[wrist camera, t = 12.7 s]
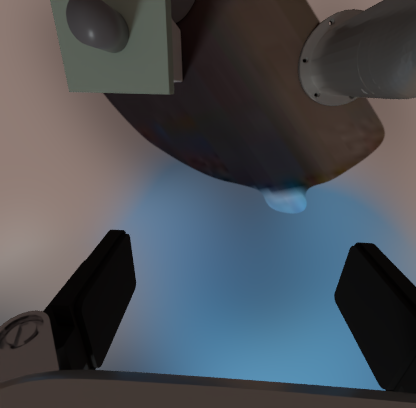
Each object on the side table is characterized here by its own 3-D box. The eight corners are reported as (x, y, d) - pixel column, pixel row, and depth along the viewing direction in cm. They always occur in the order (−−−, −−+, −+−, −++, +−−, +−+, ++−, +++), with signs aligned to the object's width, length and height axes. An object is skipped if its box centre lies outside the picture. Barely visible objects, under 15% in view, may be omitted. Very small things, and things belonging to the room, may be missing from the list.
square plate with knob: (169, -30, 21) (149, -76, 15) (174, 93, 25) (159, 95, 19) (60, -30, 21) (-2, -75, 16) (83, 91, 26) (41, 92, 20)
